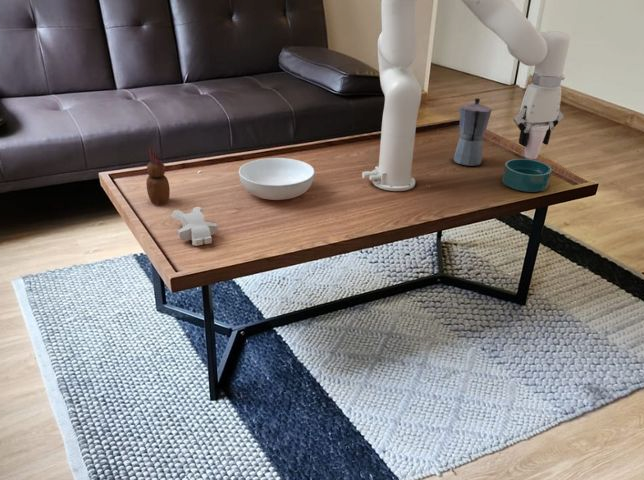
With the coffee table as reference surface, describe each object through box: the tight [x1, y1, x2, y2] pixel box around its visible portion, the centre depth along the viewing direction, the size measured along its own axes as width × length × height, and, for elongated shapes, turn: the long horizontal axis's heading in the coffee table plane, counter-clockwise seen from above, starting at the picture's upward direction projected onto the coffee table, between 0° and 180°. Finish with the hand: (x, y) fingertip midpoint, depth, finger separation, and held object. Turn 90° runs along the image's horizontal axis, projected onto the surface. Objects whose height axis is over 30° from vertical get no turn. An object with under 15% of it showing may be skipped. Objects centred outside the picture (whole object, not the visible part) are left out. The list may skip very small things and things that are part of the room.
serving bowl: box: [238, 157, 316, 201], centre depth 178 cm, size 21×21×7 cm
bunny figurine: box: [171, 206, 219, 247], centre depth 156 cm, size 10×5×15 cm
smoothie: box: [523, 122, 549, 160], centre depth 183 cm, size 6×6×14 cm
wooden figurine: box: [146, 145, 171, 206], centre depth 169 cm, size 7×6×15 cm
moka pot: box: [453, 98, 493, 167], centre depth 200 cm, size 10×15×20 cm, turn 174°
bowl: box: [501, 158, 553, 193], centre depth 190 cm, size 13×13×6 cm
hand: (533, 143), depth 184 cm, fingers closed on smoothie, 6 cm apart
